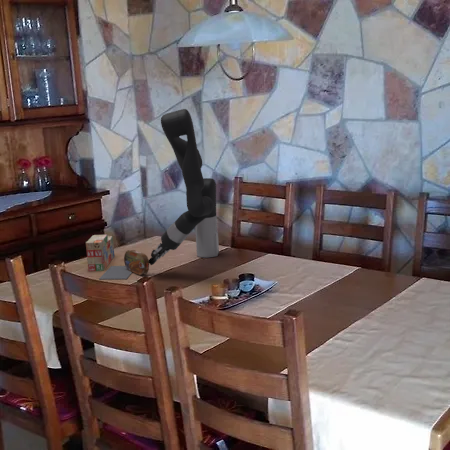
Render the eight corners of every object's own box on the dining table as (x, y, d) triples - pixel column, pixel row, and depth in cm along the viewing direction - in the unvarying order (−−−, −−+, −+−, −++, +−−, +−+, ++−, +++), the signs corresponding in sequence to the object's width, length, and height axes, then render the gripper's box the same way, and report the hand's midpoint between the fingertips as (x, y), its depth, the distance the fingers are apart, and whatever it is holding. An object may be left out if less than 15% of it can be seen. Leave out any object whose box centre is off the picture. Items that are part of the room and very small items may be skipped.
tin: (123, 268, 256) (123, 248, 254) (130, 267, 258) (129, 247, 256) (144, 277, 245) (143, 256, 243) (150, 275, 247) (150, 255, 245)
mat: (137, 266, 260) (137, 265, 260) (126, 279, 243) (126, 278, 243) (111, 266, 261) (111, 265, 261) (99, 279, 245) (98, 278, 244)
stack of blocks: (100, 257, 277) (98, 229, 274) (114, 256, 276) (112, 229, 274) (88, 271, 256) (85, 242, 253) (103, 271, 256) (100, 241, 253)
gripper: (177, 224, 246) (153, 251, 254) (159, 231, 235) (134, 260, 243) (190, 238, 245) (165, 265, 253) (173, 246, 234) (147, 275, 242)
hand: (150, 263), depth 248 cm, fingers closed
